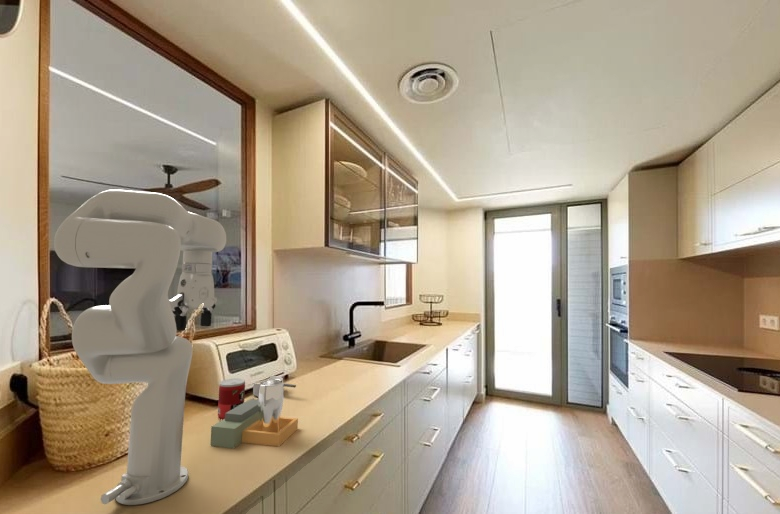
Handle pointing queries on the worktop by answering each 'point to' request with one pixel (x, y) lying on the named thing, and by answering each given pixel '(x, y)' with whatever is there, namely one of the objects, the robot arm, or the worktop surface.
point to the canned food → (230, 395)
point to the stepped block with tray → (249, 428)
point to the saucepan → (256, 386)
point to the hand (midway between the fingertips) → (193, 327)
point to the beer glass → (270, 404)
